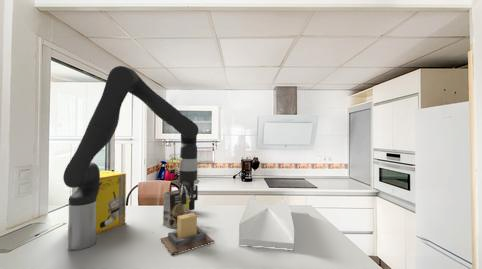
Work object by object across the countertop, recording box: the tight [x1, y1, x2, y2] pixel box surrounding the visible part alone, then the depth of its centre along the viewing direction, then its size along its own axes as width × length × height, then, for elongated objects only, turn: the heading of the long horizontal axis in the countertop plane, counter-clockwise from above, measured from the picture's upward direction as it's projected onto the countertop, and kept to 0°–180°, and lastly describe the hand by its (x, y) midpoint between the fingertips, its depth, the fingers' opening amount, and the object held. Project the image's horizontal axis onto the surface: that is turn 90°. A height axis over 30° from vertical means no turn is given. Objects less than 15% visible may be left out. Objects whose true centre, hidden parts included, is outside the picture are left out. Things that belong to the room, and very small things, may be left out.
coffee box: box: [162, 189, 186, 229], centre depth 114 cm, size 9×6×16 cm
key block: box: [176, 212, 198, 239], centre depth 96 cm, size 4×7×10 cm, turn 126°
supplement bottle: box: [185, 195, 190, 214], centre depth 131 cm, size 7×7×13 cm
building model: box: [238, 194, 295, 249], centre depth 114 cm, size 45×22×10 cm, turn 171°
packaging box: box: [71, 170, 127, 235], centre depth 110 cm, size 16×16×25 cm
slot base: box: [160, 226, 215, 256], centre depth 96 cm, size 18×14×4 cm
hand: (187, 206), depth 96 cm, fingers open, 8 cm apart
